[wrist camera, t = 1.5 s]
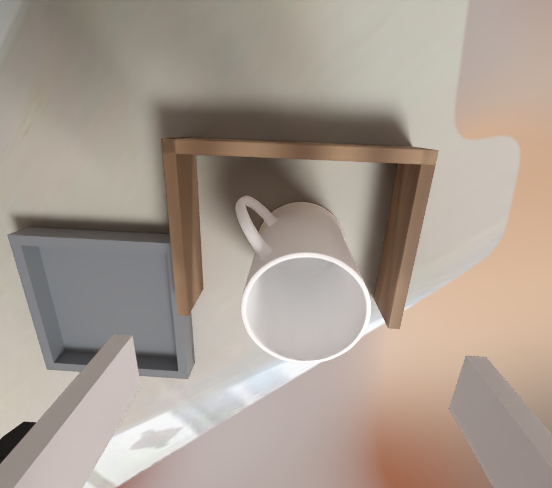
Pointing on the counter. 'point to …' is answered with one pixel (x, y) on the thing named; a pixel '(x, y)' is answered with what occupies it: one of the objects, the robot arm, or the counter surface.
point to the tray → (103, 297)
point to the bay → (408, 181)
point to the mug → (301, 284)
